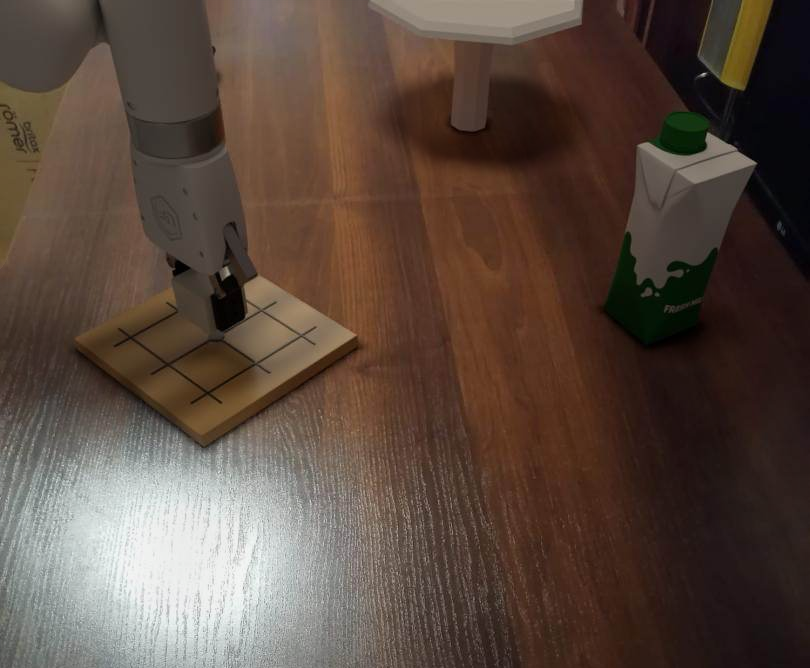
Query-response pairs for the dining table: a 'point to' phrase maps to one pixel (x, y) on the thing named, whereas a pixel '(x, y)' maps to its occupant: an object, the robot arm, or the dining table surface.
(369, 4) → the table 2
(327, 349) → the board
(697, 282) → the milk carton
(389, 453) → the dining table surface
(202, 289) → the two-tone grey box
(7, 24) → the robot arm
